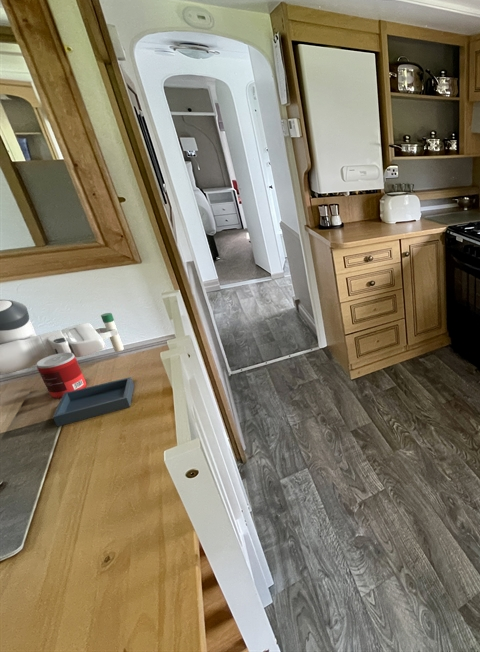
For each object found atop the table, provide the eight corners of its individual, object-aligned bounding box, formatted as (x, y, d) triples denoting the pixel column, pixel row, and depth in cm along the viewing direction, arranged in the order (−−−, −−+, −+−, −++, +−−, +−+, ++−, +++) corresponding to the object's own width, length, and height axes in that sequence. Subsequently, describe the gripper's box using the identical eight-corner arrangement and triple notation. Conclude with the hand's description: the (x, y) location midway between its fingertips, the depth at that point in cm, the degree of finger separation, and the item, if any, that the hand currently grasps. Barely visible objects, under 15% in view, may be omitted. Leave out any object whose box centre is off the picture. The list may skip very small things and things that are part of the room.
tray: (57, 426, 97) (52, 417, 96) (68, 401, 107) (63, 392, 106) (130, 407, 105) (126, 397, 104) (134, 385, 115) (131, 376, 114)
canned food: (88, 380, 117) (75, 349, 113) (86, 392, 111) (72, 360, 107) (53, 389, 112) (38, 357, 108) (49, 402, 106) (33, 369, 102)
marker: (113, 352, 129) (100, 316, 124) (114, 349, 131) (101, 313, 126) (124, 350, 130) (110, 314, 125) (124, 347, 132) (112, 312, 127)
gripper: (56, 343, 125) (110, 329, 135) (68, 364, 114) (126, 347, 124) (49, 326, 123) (104, 313, 133) (60, 345, 111) (120, 329, 121)
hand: (115, 329), depth 128 cm, fingers closed on marker, 2 cm apart
